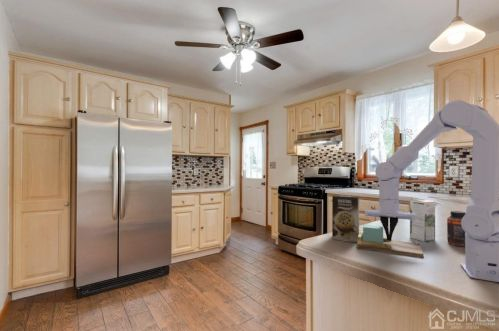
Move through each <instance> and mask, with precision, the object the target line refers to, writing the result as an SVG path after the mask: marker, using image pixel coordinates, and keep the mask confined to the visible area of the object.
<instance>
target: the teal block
mask: <svg viewBox="0 0 499 331" xmlns="http://www.w3.org/2000/svg"><path fill="white" fill-rule="evenodd" d="M362 231H363V241H369V242H377V243H383V237H384V227H383V225H373V224H363V226H362Z"/></svg>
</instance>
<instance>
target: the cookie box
mask: <svg viewBox="0 0 499 331" xmlns="http://www.w3.org/2000/svg"><path fill="white" fill-rule="evenodd" d="M331 199H332V201H331V202H332V204H331V205H332V209H331V210H332V212H331V214H332V217H331V218H332V221H331V222H332V224H331V226H332V228H331V229H332V230H331V231H332V233H331V239H332V240H336V241H344V242H351V243H352V242H354V243H358V235H359V233H360V196H359V195H346V194H345V195H344V194H334V195H332V198H331Z"/></svg>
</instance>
